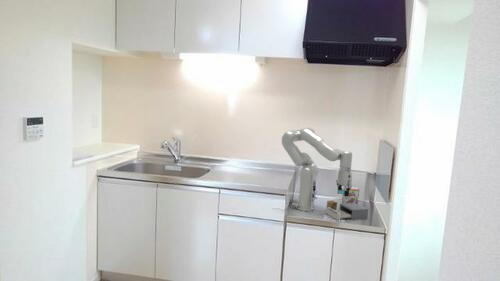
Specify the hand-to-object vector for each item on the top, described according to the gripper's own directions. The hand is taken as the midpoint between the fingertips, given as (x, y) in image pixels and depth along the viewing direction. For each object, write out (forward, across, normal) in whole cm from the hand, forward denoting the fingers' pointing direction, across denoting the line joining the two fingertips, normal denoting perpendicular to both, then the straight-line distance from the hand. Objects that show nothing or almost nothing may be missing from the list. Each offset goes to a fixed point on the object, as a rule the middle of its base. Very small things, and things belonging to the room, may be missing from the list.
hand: (342, 194), depth 224 cm
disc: (-1, 0, 0) cm, 1 cm away
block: (+16, +16, -3) cm, 23 cm away
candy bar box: (+16, +14, -18) cm, 28 cm away
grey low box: (+16, +1, -11) cm, 19 cm away
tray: (+16, +1, 0) cm, 16 cm away
